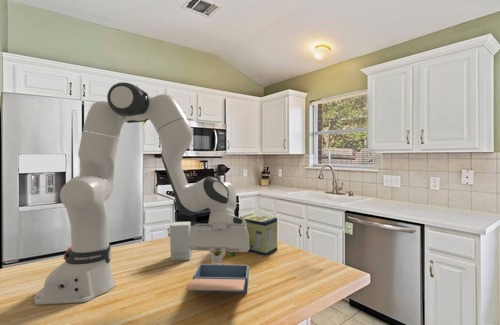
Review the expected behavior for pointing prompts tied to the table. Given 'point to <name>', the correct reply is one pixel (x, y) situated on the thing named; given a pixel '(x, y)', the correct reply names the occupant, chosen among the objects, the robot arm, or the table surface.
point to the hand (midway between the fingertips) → (216, 263)
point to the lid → (217, 284)
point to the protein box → (261, 234)
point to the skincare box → (180, 241)
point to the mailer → (222, 275)
